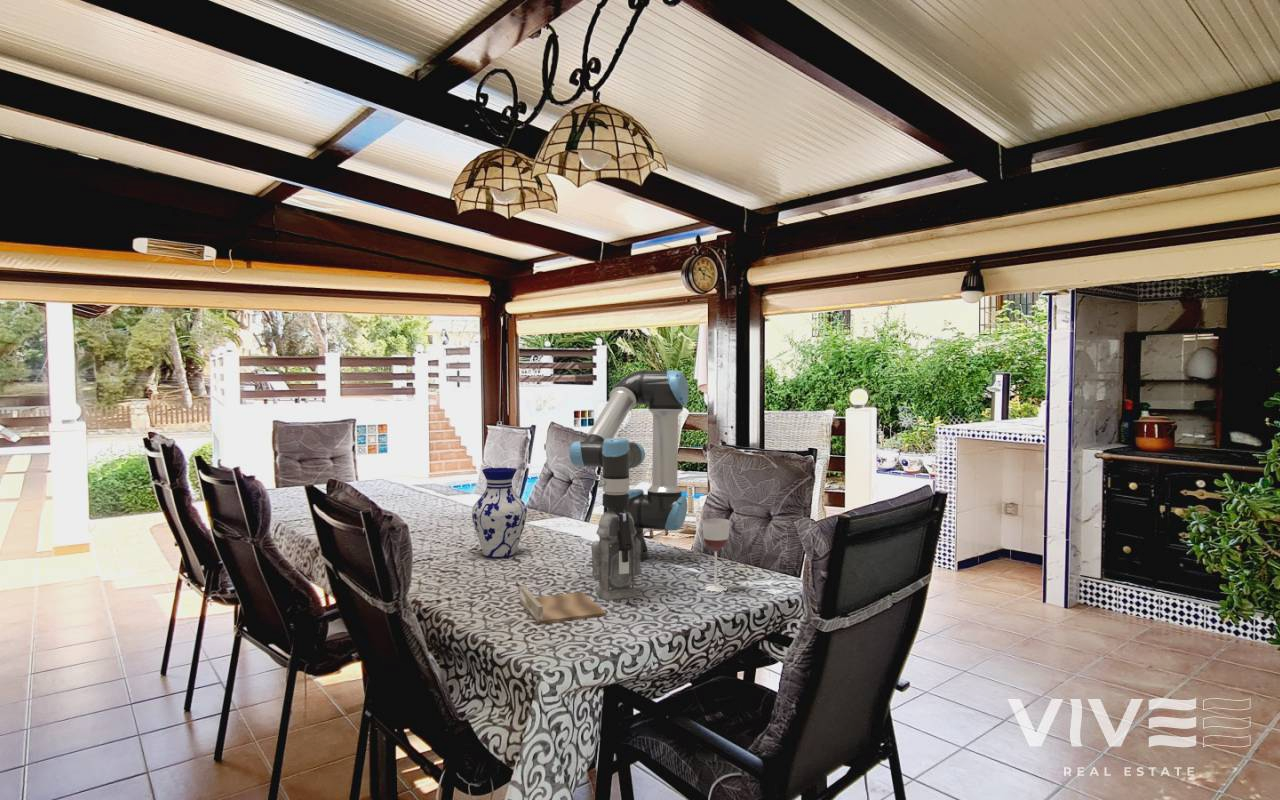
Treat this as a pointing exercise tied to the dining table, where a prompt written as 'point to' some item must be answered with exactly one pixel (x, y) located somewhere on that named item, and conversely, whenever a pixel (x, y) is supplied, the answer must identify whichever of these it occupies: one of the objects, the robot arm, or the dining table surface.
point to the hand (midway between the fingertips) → (615, 568)
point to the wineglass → (715, 541)
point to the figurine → (614, 559)
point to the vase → (499, 514)
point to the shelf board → (559, 607)
